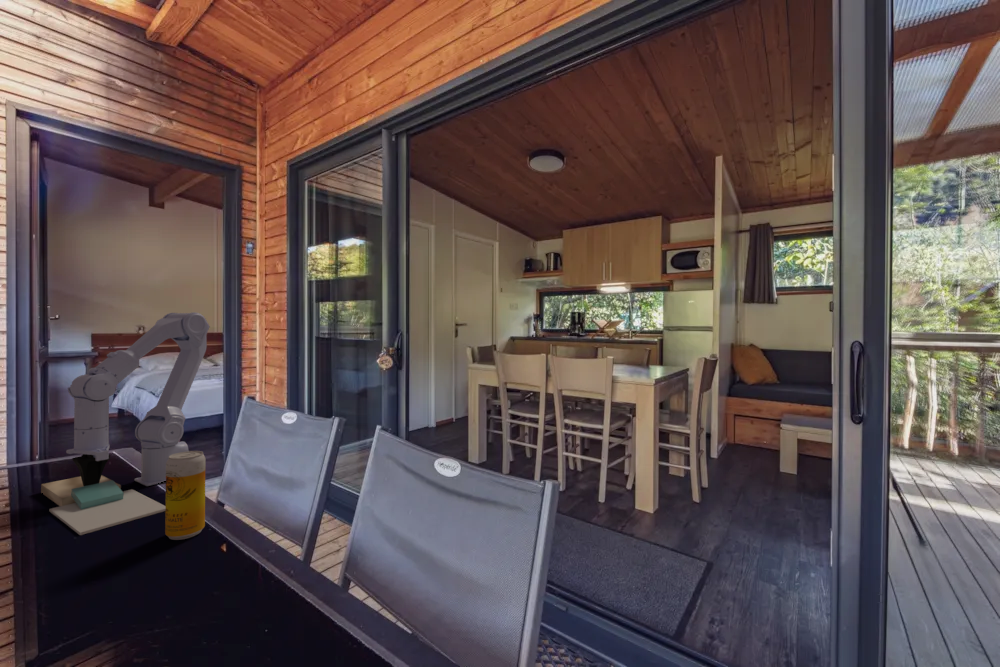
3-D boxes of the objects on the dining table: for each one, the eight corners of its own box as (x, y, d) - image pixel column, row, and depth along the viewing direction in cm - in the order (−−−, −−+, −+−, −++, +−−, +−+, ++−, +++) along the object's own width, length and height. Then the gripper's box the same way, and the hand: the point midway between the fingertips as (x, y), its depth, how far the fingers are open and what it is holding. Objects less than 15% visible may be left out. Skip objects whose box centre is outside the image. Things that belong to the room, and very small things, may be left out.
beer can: (157, 538, 80) (157, 457, 80) (189, 524, 86) (189, 449, 86) (181, 543, 78) (182, 460, 78) (212, 529, 84) (213, 451, 84)
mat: (132, 491, 103) (132, 489, 103) (168, 509, 93) (168, 507, 93) (49, 511, 92) (49, 508, 92) (80, 535, 81) (80, 532, 81)
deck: (97, 480, 111) (97, 472, 111) (120, 493, 102) (120, 485, 102) (41, 492, 102) (41, 484, 102) (61, 507, 94) (61, 498, 94)
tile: (112, 486, 101) (112, 480, 101) (123, 499, 97) (123, 492, 97) (70, 495, 95) (71, 489, 95) (80, 509, 91) (81, 503, 91)
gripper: (57, 426, 99) (57, 485, 99) (78, 434, 91) (77, 499, 91) (98, 421, 105) (97, 477, 105) (120, 428, 97) (120, 489, 97)
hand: (91, 487), depth 98 cm, fingers closed
